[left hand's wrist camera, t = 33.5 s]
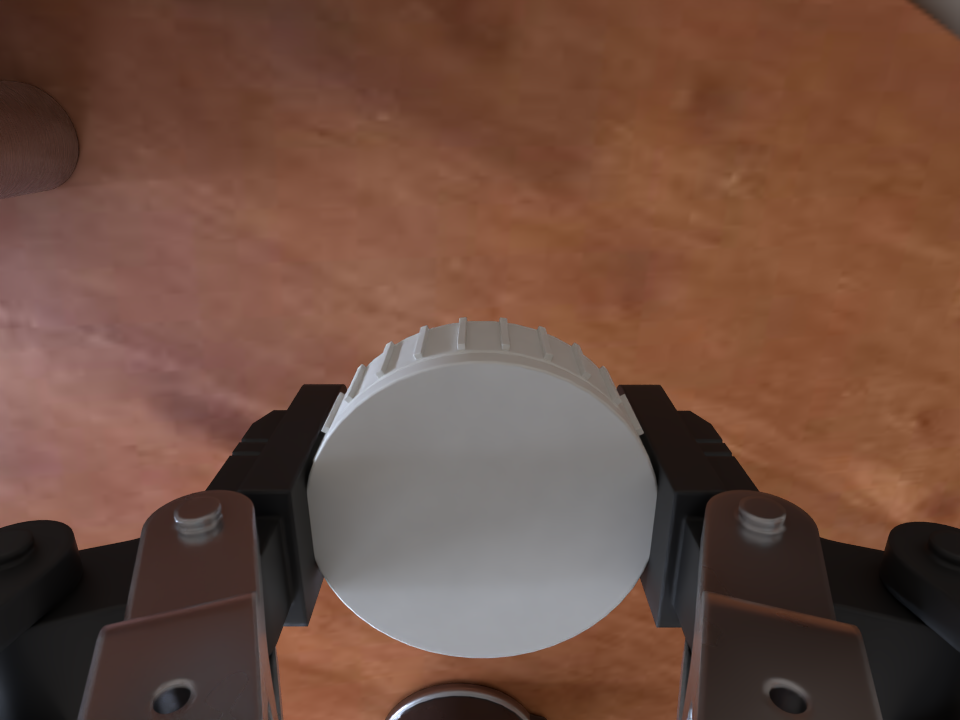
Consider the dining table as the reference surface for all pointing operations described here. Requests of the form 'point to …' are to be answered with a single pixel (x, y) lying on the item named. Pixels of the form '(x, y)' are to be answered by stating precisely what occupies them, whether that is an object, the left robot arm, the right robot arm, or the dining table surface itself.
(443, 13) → the dining table surface
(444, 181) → the dining table surface
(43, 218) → the dining table surface
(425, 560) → the lid
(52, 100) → the jar
